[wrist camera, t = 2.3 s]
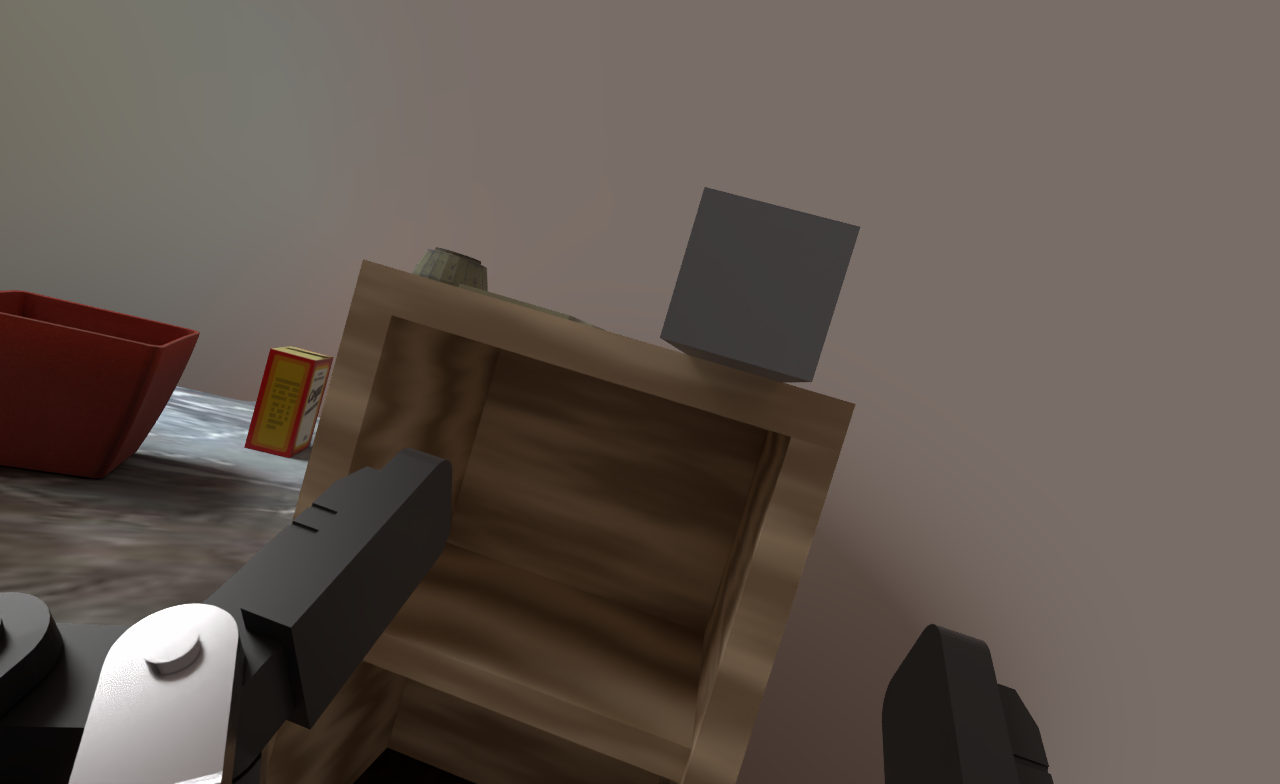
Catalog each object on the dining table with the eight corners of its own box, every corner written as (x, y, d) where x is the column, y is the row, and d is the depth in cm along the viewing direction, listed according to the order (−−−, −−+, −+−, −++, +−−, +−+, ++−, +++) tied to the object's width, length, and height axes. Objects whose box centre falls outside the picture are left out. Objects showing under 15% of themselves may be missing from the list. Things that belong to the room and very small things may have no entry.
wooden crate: (634, 1103, 27) (857, 399, 26) (190, 898, 30) (364, 254, 29) (670, 839, 43) (809, 393, 41) (377, 721, 46) (495, 300, 44)
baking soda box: (289, 458, 99) (316, 358, 98) (244, 447, 98) (271, 346, 97) (309, 446, 108) (333, 355, 108) (268, 436, 107) (292, 344, 106)
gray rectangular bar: (823, 385, 16) (879, 206, 16) (648, 334, 17) (700, 161, 16) (767, 384, 42) (789, 315, 42) (699, 364, 42) (720, 296, 42)
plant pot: (-118, 462, 62) (-79, 292, 61) (-13, 420, 79) (19, 288, 78) (123, 495, 70) (161, 346, 69) (171, 451, 87) (202, 331, 86)
